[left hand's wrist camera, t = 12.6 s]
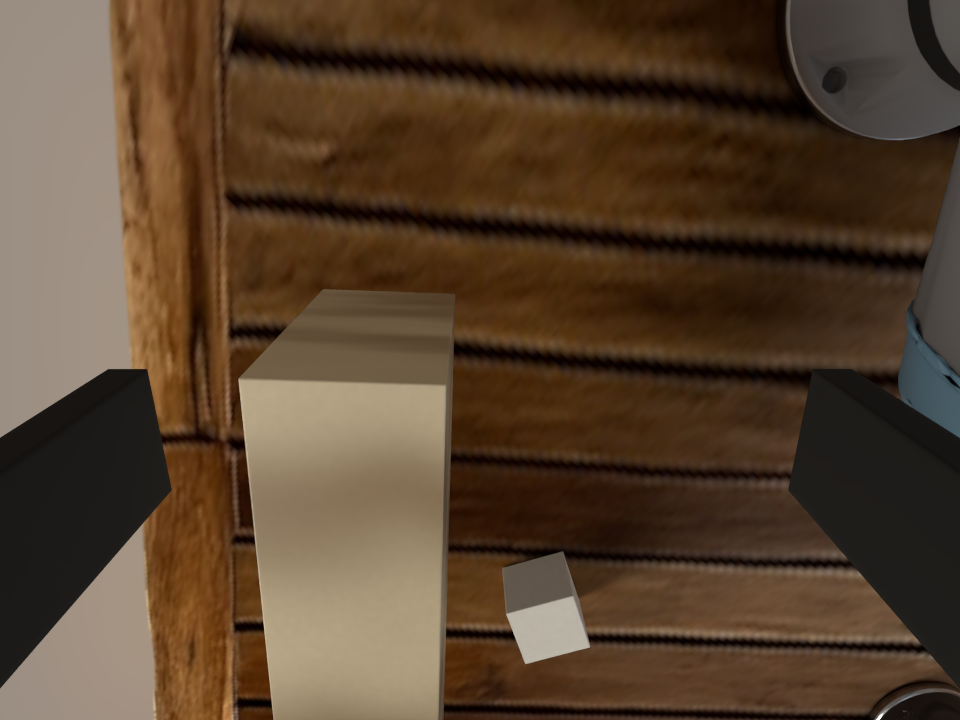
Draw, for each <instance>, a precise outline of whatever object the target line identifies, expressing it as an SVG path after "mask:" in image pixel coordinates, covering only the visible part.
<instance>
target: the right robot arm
mask: <svg viewBox="0 0 960 720" xmlns="http://www.w3.org/2000/svg"><path fill="white" fill-rule="evenodd" d="M867 720H960V690H958V689H957V688H955V687H953V686H950V685H947V684H943V683H920V684H915V685H911V686H907V687H905V688H902V689H900V690H897V691H896V692H894V693H892V694H890V695H889V696H887V697H886V698H884V699H883V700H882V701H881V702H879V703H878V704H877V705H876V706H875V708H874V709H873V710H872V711H871V713H870V714H869V716H868V718H867Z"/></svg>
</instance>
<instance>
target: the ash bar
mask: <svg viewBox="0 0 960 720" xmlns="http://www.w3.org/2000/svg"><path fill="white" fill-rule="evenodd" d="M454 313H455V294H440V293H412V292H384V291H357V290H329V289H323V290H322V291H321V292H320V293H319V294H318V295H317V296H316V297H315V298H314V299H313V300H312V302H311V303H310V304H309V305H308V306H307V307H306V308H305V309H304V310H303V311H302V312H301V313H300V314H299V315H298V316H297V317H296V318H295V319H294V321H293V322H292V323H291V324H290V325H289V326H288V327H287V328H286V329H285V330H284V331H283V332H282V333H281V334H280V335H279V336H278V337H277V339H276V340H275V341H274V342H273V343H272V344H271V345H270V346H269V347H268V348H267V349H266V350H265V351H264V352H263V353H262V354H261V355H260V356H259V358H258V359H257V360H256V361H255V362H254V363H253V364H252V365H251V366H250V367H249V368H248V369H247V370H246V371H245V372H244V373H243V374H242V375H241V377H240V378H239V389H240V399H241V408H242V418H243V428H244V437H245V447H246V457H247V466H248V476H249V486H250V495H251V505H252V515H253V524H254V534H255V544H256V553H257V563H258V573H259V582H260V592H261V602H262V611H263V621H264V631H265V640H266V650H267V660H268V669H269V679H270V689H271V698H272V708H273V718H274V720H443V714H444V677H445V641H446V604H447V568H448V531H449V495H450V458H451V422H452V386H453V349H454Z"/></svg>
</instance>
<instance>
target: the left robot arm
mask: <svg viewBox="0 0 960 720" xmlns="http://www.w3.org/2000/svg"><path fill="white" fill-rule="evenodd" d="M776 23H777V40H778V48H779V53H780V58H781V62H782V65H783V68H784V71H785V74H786V76H787V79H788V81H789V83H790V85H791V87H792V89H793V90H794V92H795V94H796V96H797V97H798V98H799V100H800V101H801V102H802V104H803V105H804V106H805V107H806V108H807V109H808V110H809V111H810V112H811V113H812V114H813V115H814V116H815V117H816V118H817V119H819V120H820V121H821V122H823V123H824V124H826V125H827V126H829V127H831V128H833V129H835V130H837V131H839V132H841V133H844V134H847V135H850V136H854V137H858V138H863V139H873V140H905V139H914V138H919V137H923V136H928V135H931V134H935V133H939V132H942V131H945V130H948V129H951V128H954V127H956V126H959V125H960V0H778V5H777V20H776ZM906 324H907V330H908V331H907V336H906V341H905V347H904V351H903V356H902V360H901V365H900V369H899V376H898V383H899V391H900V395H901V398H902V400H903V401H901V400H899V399H898V398H896V397H895V396H893V395H892V394H890V393H888V392H887V391H885V390H884V389H882V388H881V387H879V386H877V385H876V384H874V383H873V382H871V381H869V380H868V379H866V378H865V377H863V376H862V375H860V374H858V373H857V372H855V371H854V370H852V369H813V371H812V376H811V381H810V386H809V391H808V396H807V401H806V406H805V410H804V415H803V420H802V425H801V430H800V435H799V440H798V445H797V450H796V455H795V460H794V465H793V470H792V475H791V479H790V484H789V489H788V490H789V491H790V492H791V494H792V495H793V496H794V497H795V498H796V499H797V501H798V502H799V503H800V504H801V505H802V506H803V508H804V509H805V510H806V511H807V512H808V513H809V514H810V516H811V517H812V518H813V519H814V520H815V521H816V523H817V524H818V525H819V526H820V527H821V528H822V530H823V531H824V532H825V533H826V534H827V535H828V536H829V538H830V539H831V540H832V541H833V542H834V543H835V545H836V546H837V547H838V548H839V549H840V550H841V551H842V553H843V554H844V555H845V556H846V557H847V558H848V560H849V561H850V562H851V563H852V564H853V565H854V567H855V568H856V569H857V570H858V571H859V572H860V573H861V575H862V576H863V577H864V578H865V579H866V580H867V582H868V583H869V584H870V585H871V586H872V587H873V588H874V590H875V591H876V592H877V593H878V594H879V595H880V597H881V598H882V599H883V600H884V601H885V602H886V604H887V605H888V606H889V607H890V608H891V609H892V610H893V612H894V613H895V614H896V615H897V616H898V617H899V619H900V620H901V621H902V622H903V623H904V624H905V626H906V627H907V628H908V629H909V630H910V631H911V632H912V634H913V635H914V636H915V637H916V638H917V639H918V641H919V642H920V643H921V644H922V645H923V646H924V647H925V649H926V650H927V651H928V652H929V653H930V654H931V656H932V657H933V658H934V659H935V660H936V661H937V663H938V664H939V665H940V666H941V667H942V668H943V669H944V671H945V672H946V673H947V674H948V675H949V676H950V678H951V679H952V680H953V681H954V682H955V683H956V684H957V686H958V687H959V688H960V139H959V143H958V147H957V150H956V154H955V158H954V161H953V165H952V169H951V172H950V176H949V180H948V183H947V187H946V191H945V195H944V198H943V202H942V206H941V209H940V213H939V217H938V220H937V224H936V228H935V231H934V235H933V239H932V243H931V246H930V249H929V253H928V256H927V260H926V263H925V266H924V270H923V273H922V277H921V280H920V283H919V287H918V290H917V293H916V297H915V299H913V300H912V302H911V304H910V306H909V308H908V312H907V314H906ZM171 490H172V489H171V484H170V479H169V475H168V470H167V465H166V460H165V455H164V450H163V445H162V440H161V435H160V430H159V425H158V420H157V415H156V410H155V406H154V401H153V396H152V391H151V386H150V381H149V376H148V371H147V369H108V370H106V371H105V372H103V373H102V374H100V375H98V376H97V377H95V378H94V379H92V380H91V381H89V382H87V383H86V384H84V385H83V386H81V387H79V388H78V389H76V390H75V391H73V392H72V393H70V394H68V395H67V396H65V397H64V398H62V399H61V400H59V401H57V402H56V403H54V404H53V405H51V406H50V407H48V408H46V409H45V410H43V411H42V412H40V413H39V414H37V415H35V416H34V417H32V418H31V419H29V420H27V421H26V422H24V423H23V424H21V425H20V426H18V427H16V428H15V429H13V430H12V431H10V432H9V433H7V434H5V435H4V436H2V437H1V438H0V688H1V687H2V686H3V684H4V683H5V682H6V681H7V680H8V679H9V678H10V676H11V675H12V674H13V673H14V672H15V671H16V669H17V668H18V667H19V666H20V665H21V664H22V663H23V661H24V660H25V659H26V658H27V657H28V656H29V654H30V653H31V652H32V651H33V650H34V649H35V647H36V646H37V645H38V644H39V643H40V642H41V641H42V639H43V638H44V637H45V636H46V635H47V634H48V632H49V631H50V630H51V629H52V628H53V627H54V625H55V624H56V623H57V622H58V621H59V620H60V619H61V617H62V616H63V615H64V614H65V613H66V612H67V610H68V609H69V608H70V607H71V606H72V605H73V604H74V602H75V601H76V600H77V599H78V598H79V597H80V595H81V594H82V593H83V592H84V591H85V590H86V588H87V587H88V586H89V585H90V584H91V583H92V582H93V580H94V579H95V578H96V577H97V576H98V575H99V573H100V572H101V571H102V570H103V569H104V568H105V566H106V565H107V564H108V563H109V562H110V561H111V560H112V558H113V557H114V556H115V555H116V554H117V553H118V551H119V550H120V549H121V548H122V547H123V546H124V545H125V543H126V542H127V541H128V540H129V539H130V538H131V536H132V535H133V534H134V533H135V532H136V531H137V530H138V528H139V527H140V526H141V525H142V524H143V523H144V521H145V520H146V519H147V518H148V517H149V516H150V514H151V513H152V512H153V511H154V510H155V509H156V508H157V506H158V505H159V504H160V503H161V502H162V501H163V499H164V498H165V497H166V496H167V495H168V494H169V492H170V491H171Z"/></svg>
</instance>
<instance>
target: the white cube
mask: <svg viewBox="0 0 960 720" xmlns="http://www.w3.org/2000/svg"><path fill="white" fill-rule="evenodd" d="M502 569H503V581H504V593H505V604H506V614H507V617H508V620H509V622H510V625H511V628H512V630H513V633H514V635H515V638H516V641H517V643H518V646H519V648H520V651H521V654H522V656H523V659H524V661H525V664H527V663H531V662H535V661H539V660H543V659H546V658H550V657H554V656H558V655H562V654H566V653H569V652H573V651H577V650H581V649H585V648H589V647H590V644H589V640H588V636H587V632H586V628H585V624H584V619H583V615H582V611H581V607H580V603H579V599H578V596H577V593H576V590H575V587H574V584H573V581H572V578H571V574H570V571H569V568H568V565H567V562H566V559H565V556H564V553H563V552H559V553H555V554H551V555H548V556H544V557H540V558H537V559H533V560H529V561H526V562H522V563H519V564H515V565H511V566H508V567H504V568H502Z"/></svg>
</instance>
